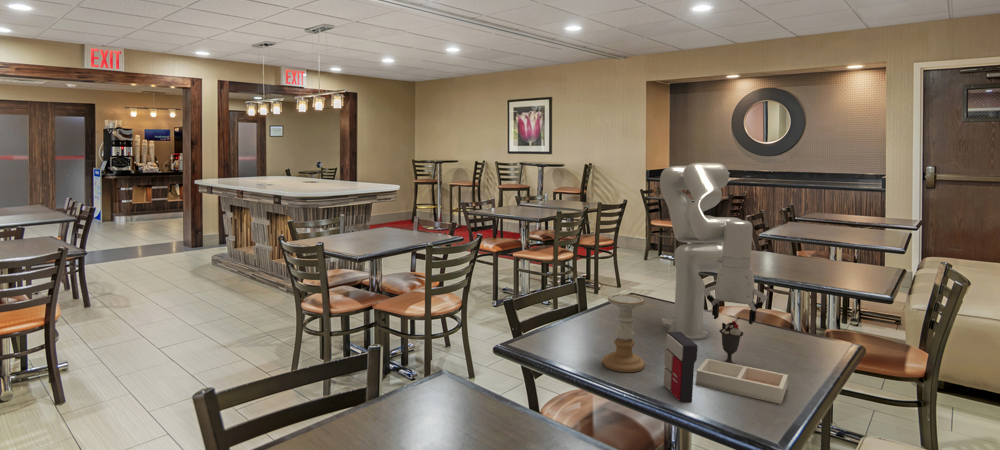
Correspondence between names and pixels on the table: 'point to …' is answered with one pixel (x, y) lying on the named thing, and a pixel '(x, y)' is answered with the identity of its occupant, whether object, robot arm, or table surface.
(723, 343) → the sundae
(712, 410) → the table surface
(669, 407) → the table surface
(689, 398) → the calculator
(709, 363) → the carrier tray
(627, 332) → the candle holder
